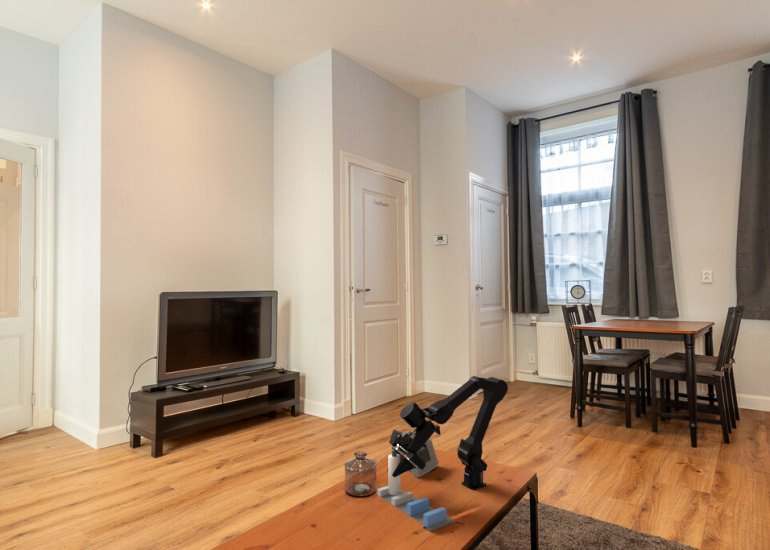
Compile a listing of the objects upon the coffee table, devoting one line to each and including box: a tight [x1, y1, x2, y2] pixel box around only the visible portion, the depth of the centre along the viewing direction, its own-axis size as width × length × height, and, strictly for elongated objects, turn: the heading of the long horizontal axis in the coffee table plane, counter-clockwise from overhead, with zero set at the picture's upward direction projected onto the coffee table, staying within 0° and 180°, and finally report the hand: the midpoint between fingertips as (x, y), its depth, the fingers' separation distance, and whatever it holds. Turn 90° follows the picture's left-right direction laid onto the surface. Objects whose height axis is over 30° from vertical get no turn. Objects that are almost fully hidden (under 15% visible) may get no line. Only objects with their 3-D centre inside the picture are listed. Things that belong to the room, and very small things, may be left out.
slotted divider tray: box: [375, 485, 454, 533], centre depth 150 cm, size 9×28×4 cm, turn 35°
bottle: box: [387, 448, 401, 495], centre depth 156 cm, size 4×4×14 cm
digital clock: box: [408, 438, 439, 478], centre depth 180 cm, size 16×9×11 cm, turn 133°
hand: (390, 473), depth 155 cm, fingers closed on bottle, 4 cm apart
